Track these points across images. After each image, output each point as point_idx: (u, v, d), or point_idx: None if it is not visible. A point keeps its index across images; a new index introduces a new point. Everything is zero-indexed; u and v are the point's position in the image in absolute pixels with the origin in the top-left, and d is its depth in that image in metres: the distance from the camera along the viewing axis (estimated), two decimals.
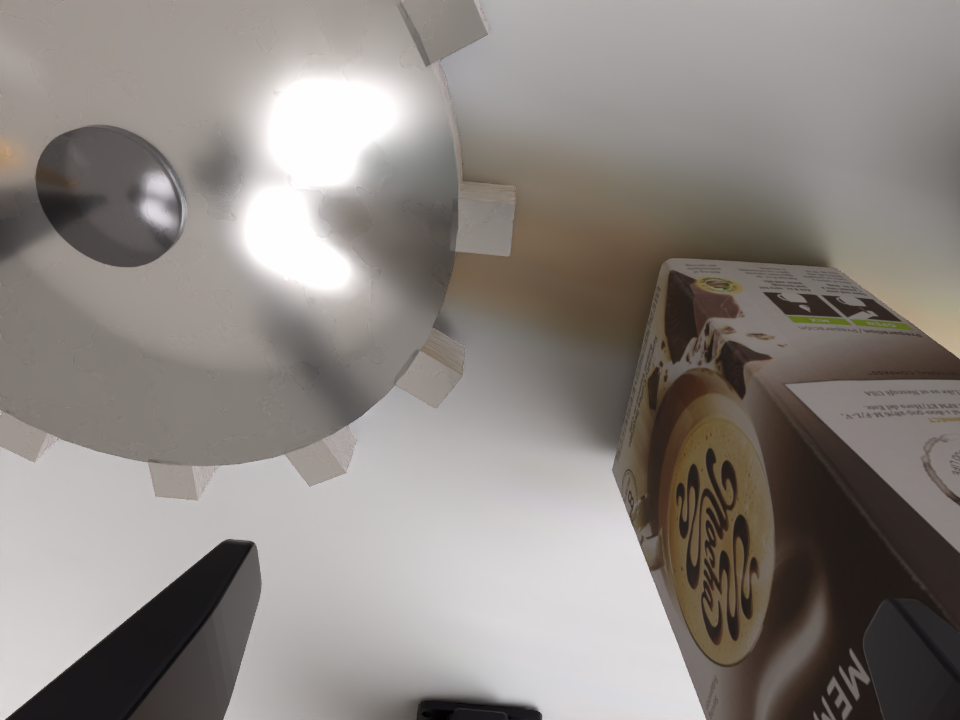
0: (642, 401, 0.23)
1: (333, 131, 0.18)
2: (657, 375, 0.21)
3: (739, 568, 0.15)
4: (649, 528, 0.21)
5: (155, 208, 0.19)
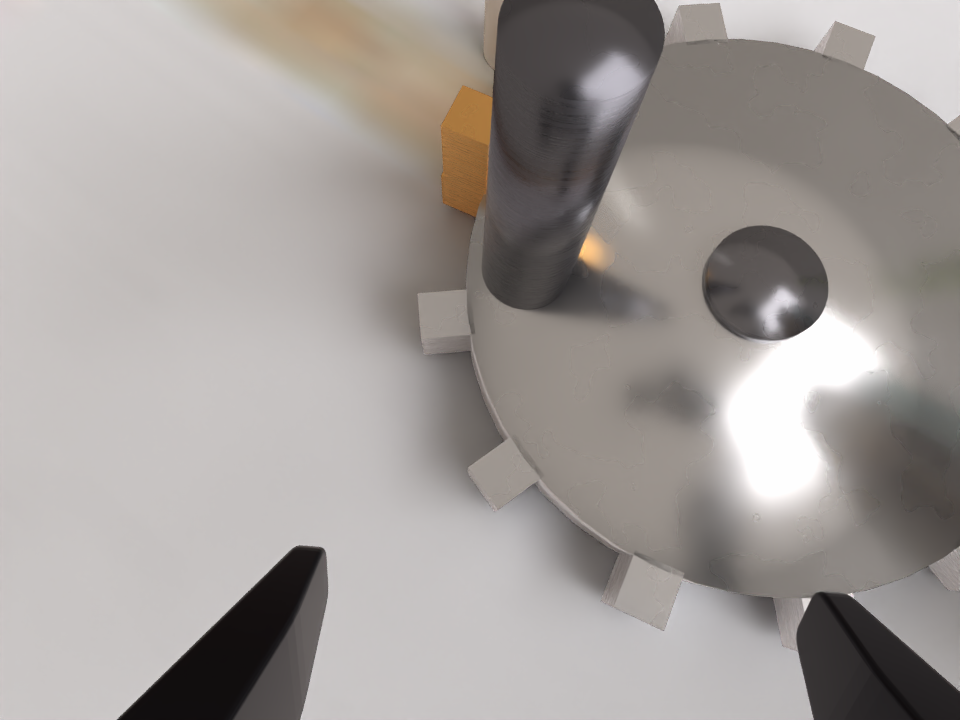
0: None
1: None
2: None
3: None
4: None
5: (806, 299, 0.22)
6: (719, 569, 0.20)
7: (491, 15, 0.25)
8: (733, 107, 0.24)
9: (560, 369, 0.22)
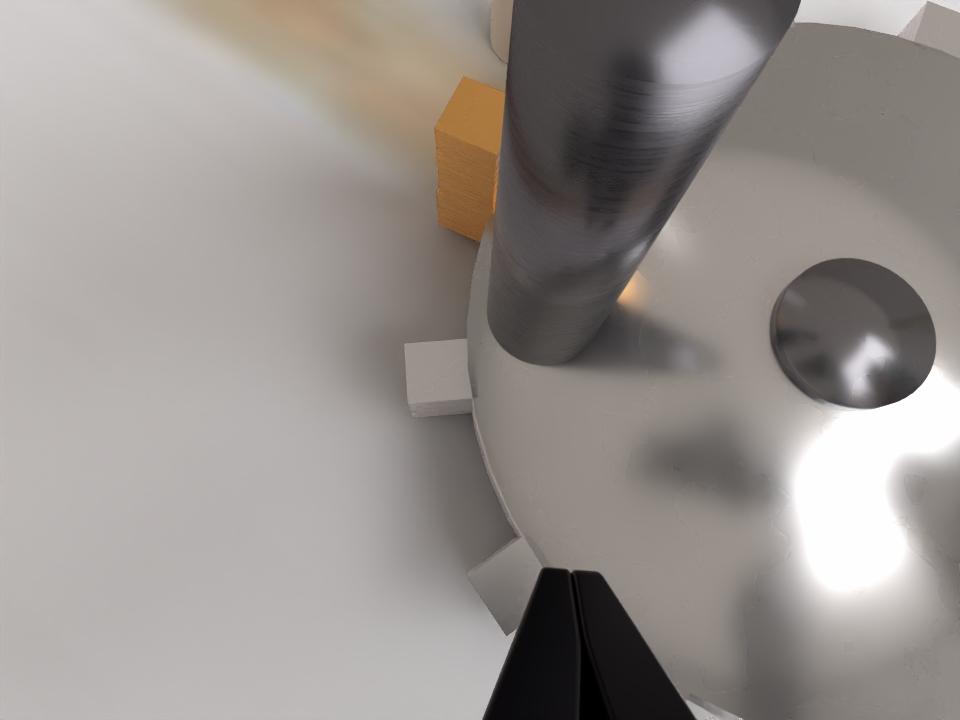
0: None
1: None
2: None
3: None
4: None
5: (908, 354, 0.17)
6: None
7: None
8: (804, 108, 0.19)
9: (588, 445, 0.17)
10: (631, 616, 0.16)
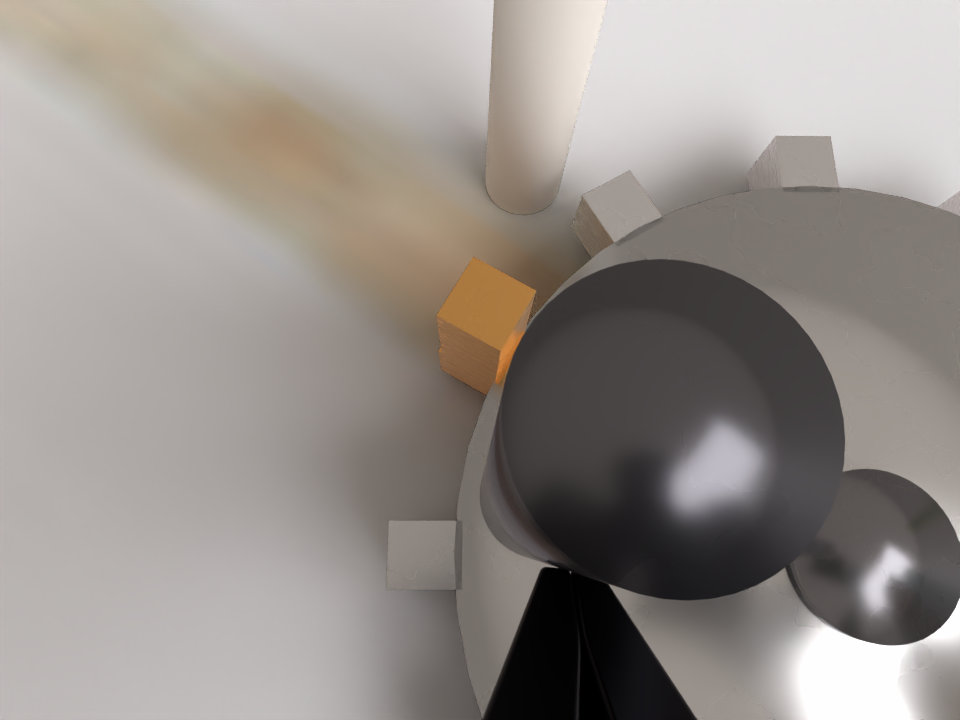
0: None
1: None
2: None
3: None
4: None
5: (931, 587, 0.15)
6: None
7: (495, 152, 0.19)
8: (840, 286, 0.18)
9: None
10: None
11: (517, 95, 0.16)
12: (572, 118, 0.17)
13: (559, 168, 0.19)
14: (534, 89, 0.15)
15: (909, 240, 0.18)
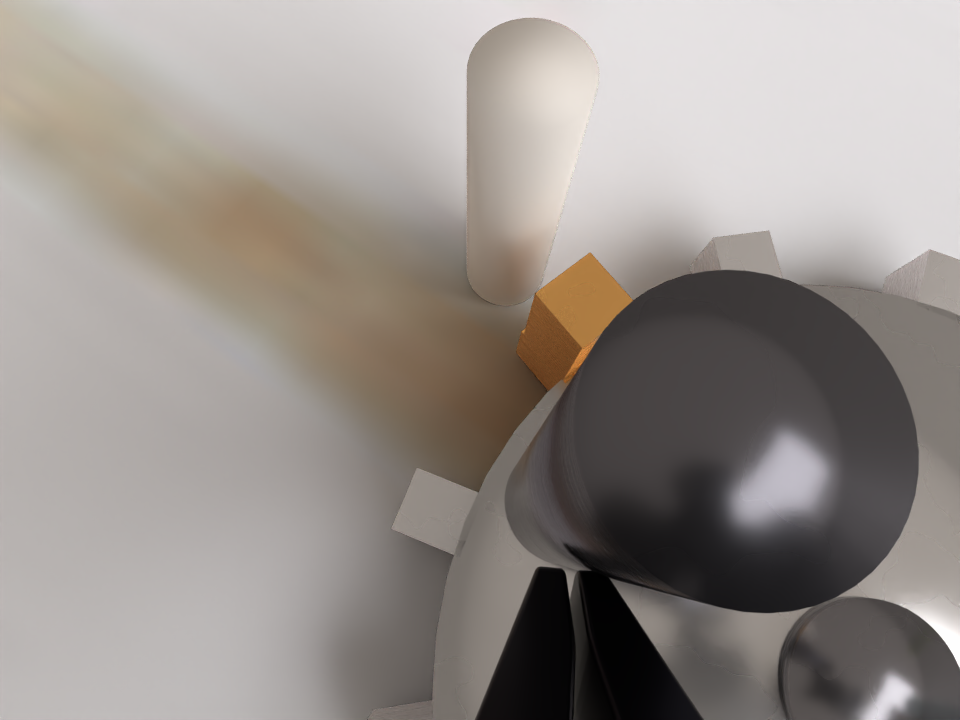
0: None
1: None
2: None
3: None
4: None
5: None
6: None
7: (475, 253, 0.18)
8: (941, 419, 0.17)
9: None
10: None
11: (494, 213, 0.15)
12: (553, 227, 0.16)
13: (542, 266, 0.18)
14: (511, 209, 0.14)
15: None
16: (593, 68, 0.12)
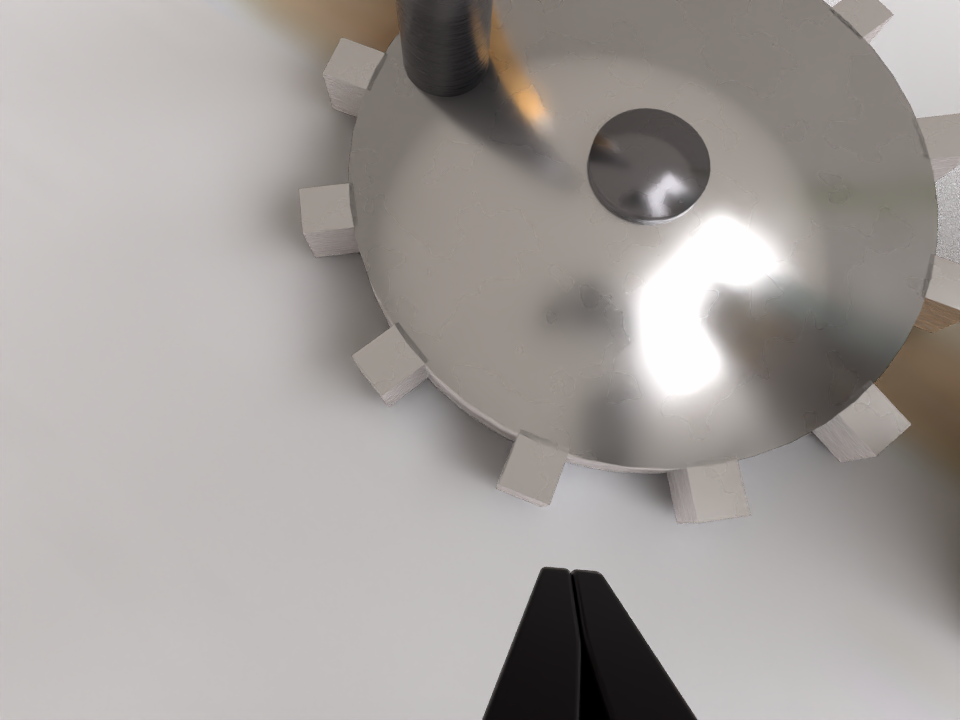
0: None
1: (828, 271, 0.22)
2: None
3: None
4: None
5: (675, 192, 0.22)
6: (461, 373, 0.21)
7: None
8: (716, 16, 0.24)
9: (423, 152, 0.22)
10: (388, 261, 0.21)
11: None
12: None
13: None
14: None
15: (781, 6, 0.24)
16: None
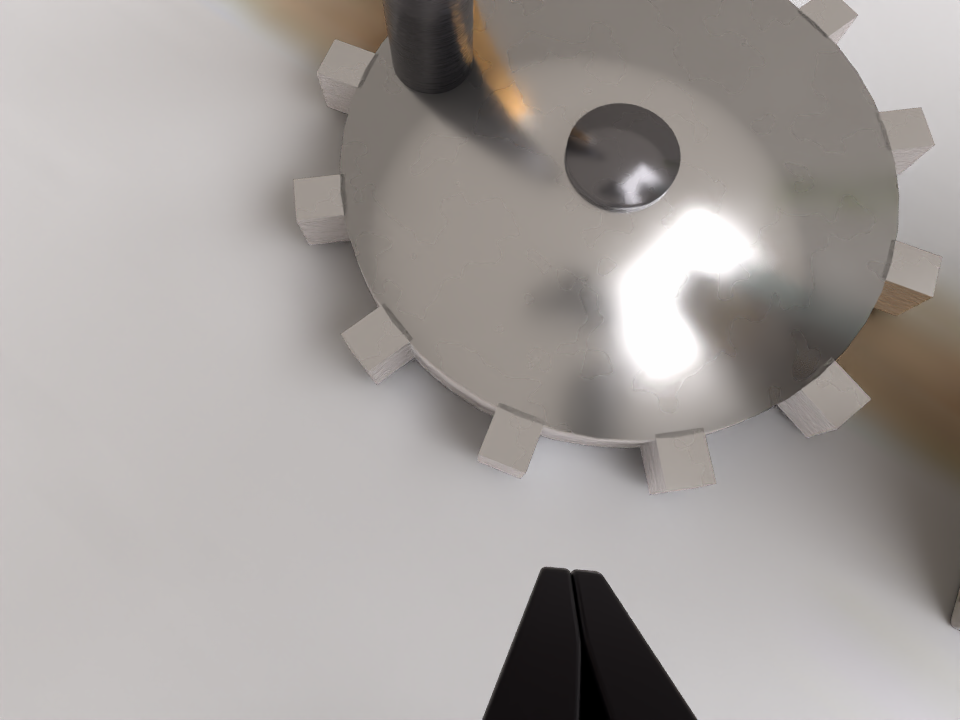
0: None
1: (792, 255, 0.23)
2: None
3: None
4: None
5: (647, 181, 0.23)
6: (443, 350, 0.22)
7: None
8: (689, 17, 0.25)
9: (410, 145, 0.24)
10: (376, 246, 0.23)
11: None
12: None
13: None
14: None
15: (751, 7, 0.26)
16: None
